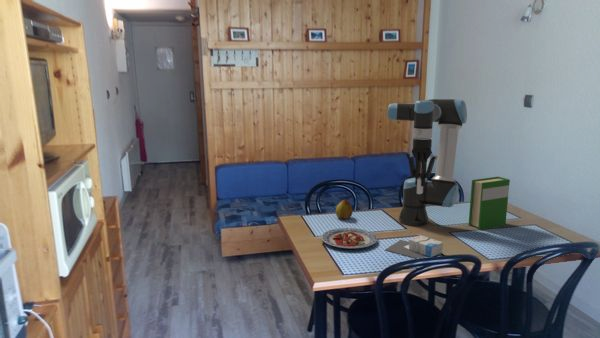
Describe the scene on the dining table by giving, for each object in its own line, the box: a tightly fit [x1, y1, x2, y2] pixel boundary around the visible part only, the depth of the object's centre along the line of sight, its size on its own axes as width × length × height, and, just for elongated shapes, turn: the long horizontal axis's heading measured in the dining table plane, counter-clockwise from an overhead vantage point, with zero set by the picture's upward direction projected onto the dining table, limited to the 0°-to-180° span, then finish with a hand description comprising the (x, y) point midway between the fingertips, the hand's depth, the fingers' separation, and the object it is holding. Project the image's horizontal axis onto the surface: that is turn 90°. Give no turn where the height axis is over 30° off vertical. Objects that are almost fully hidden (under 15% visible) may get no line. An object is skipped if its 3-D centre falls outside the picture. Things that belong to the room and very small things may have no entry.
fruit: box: [335, 197, 353, 220], centre depth 237 cm, size 9×9×12 cm
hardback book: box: [468, 176, 511, 231], centre depth 223 cm, size 18×7×24 cm, turn 114°
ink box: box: [404, 234, 444, 258], centre depth 192 cm, size 8×5×15 cm
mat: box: [384, 239, 429, 260], centre depth 193 cm, size 19×15×1 cm
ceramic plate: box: [320, 227, 378, 249], centre depth 204 cm, size 26×26×3 cm
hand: (419, 193), depth 186 cm, fingers closed
